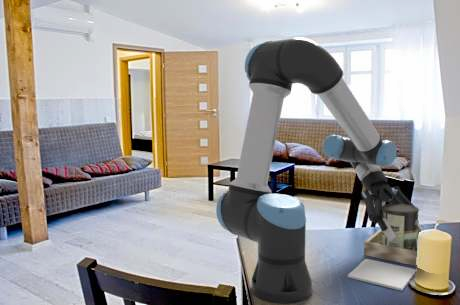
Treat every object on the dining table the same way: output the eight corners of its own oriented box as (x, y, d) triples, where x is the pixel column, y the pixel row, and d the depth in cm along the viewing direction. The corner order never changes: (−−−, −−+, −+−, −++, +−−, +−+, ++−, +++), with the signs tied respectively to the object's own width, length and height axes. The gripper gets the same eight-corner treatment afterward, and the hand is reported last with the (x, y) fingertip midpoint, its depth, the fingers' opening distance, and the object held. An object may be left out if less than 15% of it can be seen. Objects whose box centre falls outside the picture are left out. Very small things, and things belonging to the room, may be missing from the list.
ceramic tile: (347, 277, 114) (347, 275, 114) (365, 260, 125) (365, 258, 125) (402, 290, 106) (402, 288, 106) (416, 271, 117) (416, 269, 117)
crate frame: (363, 254, 130) (364, 242, 129) (380, 239, 142) (380, 228, 142) (420, 266, 120) (420, 253, 120) (432, 249, 133) (433, 237, 132)
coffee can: (412, 247, 135) (414, 203, 133) (420, 259, 125) (422, 212, 123) (378, 245, 137) (379, 202, 135) (383, 257, 127) (384, 211, 125)
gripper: (391, 179, 147) (427, 237, 135) (337, 186, 138) (370, 248, 126) (404, 166, 141) (442, 225, 129) (348, 172, 133) (384, 236, 120)
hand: (406, 236), depth 128 cm, fingers closed on coffee can, 10 cm apart
